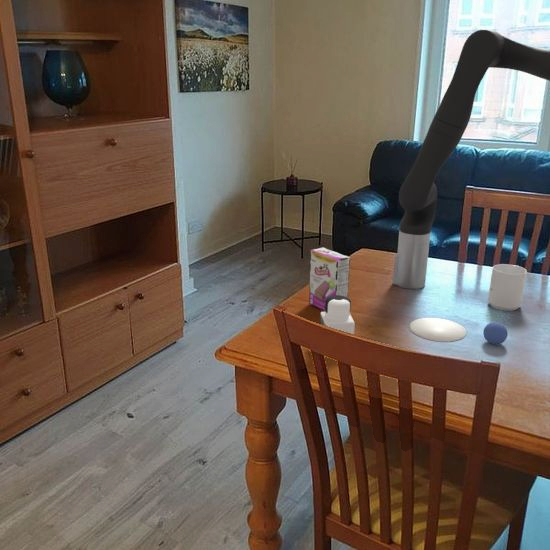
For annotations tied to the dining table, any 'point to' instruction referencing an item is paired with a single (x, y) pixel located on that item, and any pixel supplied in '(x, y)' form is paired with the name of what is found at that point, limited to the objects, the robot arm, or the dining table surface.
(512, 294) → the mug
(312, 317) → the dining table surface
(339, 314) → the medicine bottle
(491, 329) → the ball
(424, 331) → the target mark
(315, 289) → the candy bar box
